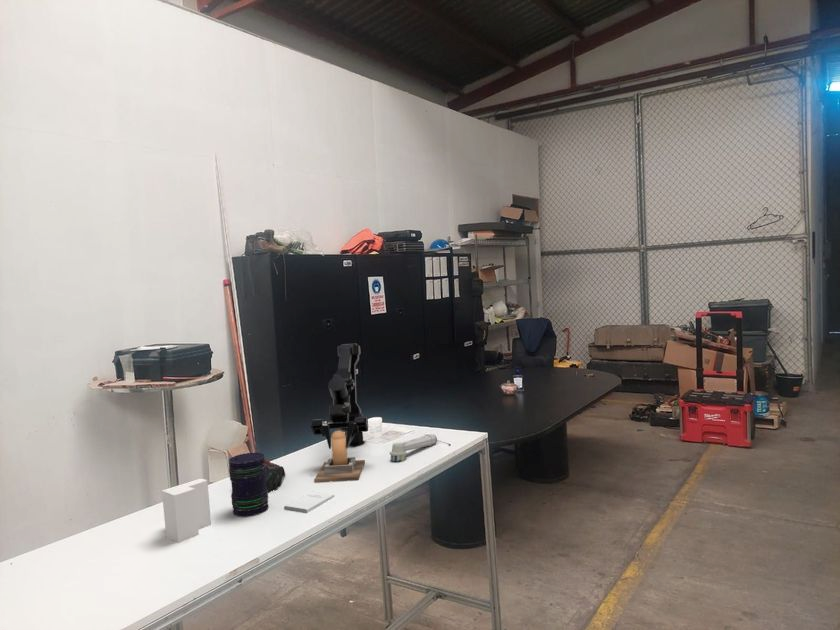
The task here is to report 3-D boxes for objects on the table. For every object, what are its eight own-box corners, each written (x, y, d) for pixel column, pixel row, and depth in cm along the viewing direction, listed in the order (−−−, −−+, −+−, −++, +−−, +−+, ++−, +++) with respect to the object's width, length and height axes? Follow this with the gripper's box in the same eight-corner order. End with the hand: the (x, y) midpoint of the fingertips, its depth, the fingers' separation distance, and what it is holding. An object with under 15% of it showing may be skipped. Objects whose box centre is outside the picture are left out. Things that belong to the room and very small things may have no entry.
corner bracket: (178, 542, 145) (174, 495, 145) (157, 532, 153) (153, 487, 152) (217, 527, 153) (214, 482, 153) (196, 518, 161) (192, 475, 160)
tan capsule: (331, 468, 194) (328, 430, 193) (345, 466, 196) (342, 427, 195) (335, 472, 190) (333, 432, 189) (349, 469, 192) (347, 430, 191)
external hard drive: (284, 511, 163) (312, 495, 174) (307, 515, 159) (334, 498, 170) (283, 505, 163) (312, 490, 174) (306, 509, 159) (334, 493, 170)
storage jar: (272, 502, 169) (268, 451, 169) (265, 515, 160) (261, 461, 159) (237, 505, 169) (232, 454, 168) (228, 518, 159) (223, 464, 158)
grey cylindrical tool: (438, 434, 219) (398, 442, 199) (438, 452, 219) (398, 462, 198) (427, 433, 222) (386, 440, 202) (426, 450, 222) (386, 460, 201)
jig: (324, 465, 202) (324, 455, 202) (364, 462, 202) (364, 452, 202) (314, 482, 184) (313, 472, 184) (358, 479, 184) (357, 469, 184)
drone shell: (256, 499, 173) (254, 473, 173) (214, 490, 184) (212, 465, 184) (307, 477, 190) (305, 453, 190) (267, 470, 201) (265, 447, 201)
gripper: (309, 396, 196) (304, 437, 185) (364, 392, 195) (363, 433, 185) (315, 414, 204) (311, 454, 194) (369, 410, 204) (367, 450, 193)
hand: (338, 447), depth 191 cm, fingers open, 5 cm apart
